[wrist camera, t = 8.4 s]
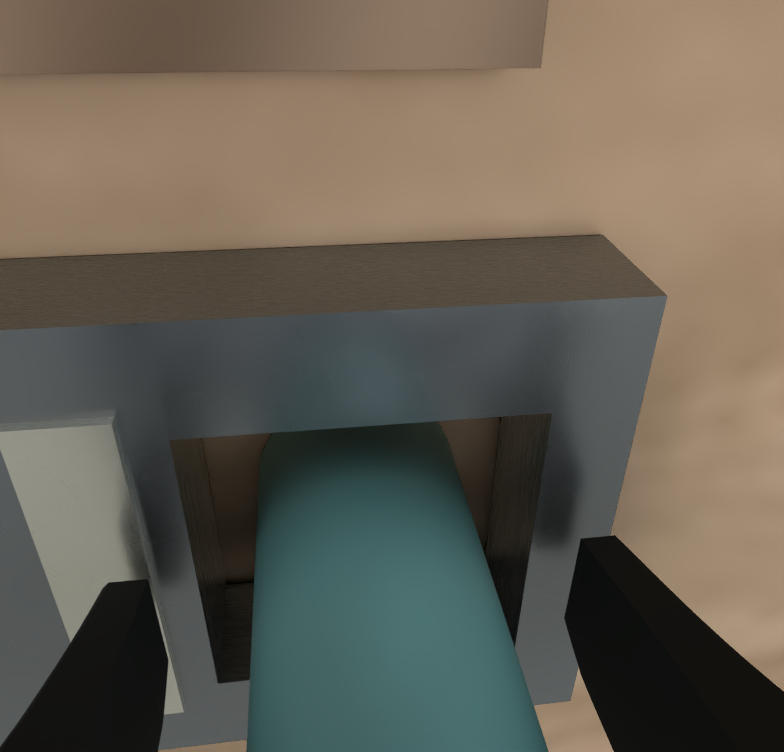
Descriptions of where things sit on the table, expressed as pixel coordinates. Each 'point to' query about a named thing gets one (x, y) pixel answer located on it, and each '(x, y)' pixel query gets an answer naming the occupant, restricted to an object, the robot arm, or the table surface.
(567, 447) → the plate
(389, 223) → the table surface
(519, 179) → the table surface
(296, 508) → the peg
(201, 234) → the table surface
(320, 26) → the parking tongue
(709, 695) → the robot arm
